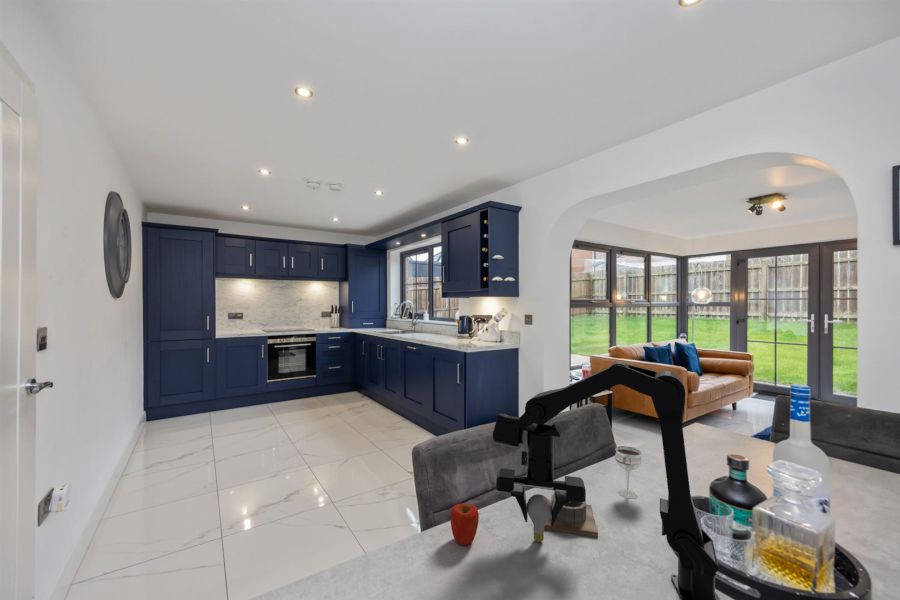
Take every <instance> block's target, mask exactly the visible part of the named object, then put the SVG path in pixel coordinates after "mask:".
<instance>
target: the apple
mask: <svg viewBox="0 0 900 600" xmlns="http://www.w3.org/2000/svg"><path fill="white" fill-rule="evenodd" d="M449 517H450V519H449V520H450V526H451V533H452V536H453V539H454V540H455V541H456V543H457V544H458V545H460V546H467V545H470V544H472V543H473V542H474V540H475V537H476V533H477V531H478V526H479V517H480V514H479V511H478V508H477V507H476V506H475V505H473V504H472V503H470V504H469V503H464V502H462V503H457V504H454V506H452V507H451V509H450V516H449Z"/></svg>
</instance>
